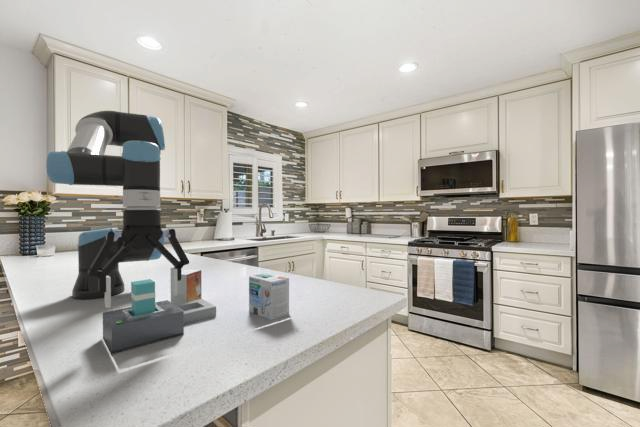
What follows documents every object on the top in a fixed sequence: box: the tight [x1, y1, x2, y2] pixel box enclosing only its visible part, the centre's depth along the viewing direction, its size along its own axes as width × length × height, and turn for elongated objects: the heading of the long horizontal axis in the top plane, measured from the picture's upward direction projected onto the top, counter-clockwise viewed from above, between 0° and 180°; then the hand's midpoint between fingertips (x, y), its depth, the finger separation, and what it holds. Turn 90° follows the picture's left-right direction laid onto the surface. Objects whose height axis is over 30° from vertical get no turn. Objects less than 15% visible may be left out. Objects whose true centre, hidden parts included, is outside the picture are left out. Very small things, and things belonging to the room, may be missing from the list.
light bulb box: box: [248, 272, 290, 321], centre depth 85 cm, size 11×7×11 cm, turn 47°
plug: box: [130, 278, 156, 316], centre depth 70 cm, size 4×4×12 cm
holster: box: [175, 298, 217, 325], centre depth 83 cm, size 10×10×3 cm
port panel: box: [102, 299, 185, 357], centre depth 70 cm, size 12×14×6 cm
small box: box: [170, 268, 202, 305], centre depth 94 cm, size 8×6×10 cm
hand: (143, 300), depth 70 cm, fingers open, 13 cm apart
